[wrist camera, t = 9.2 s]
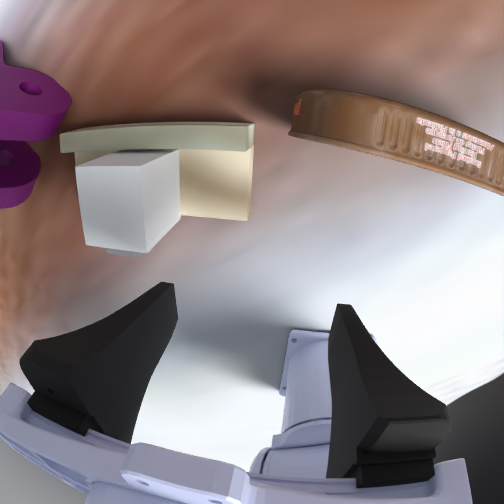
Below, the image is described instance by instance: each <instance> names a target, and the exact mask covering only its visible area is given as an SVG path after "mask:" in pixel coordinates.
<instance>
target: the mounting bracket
mask: <svg viewBox="0 0 504 504" xmlns="http://www.w3.org/2000/svg"><path fill="white" fill-rule="evenodd" d="M70 104H71V98H70V95H69V93H68V92H67V91H66V90H65V89H64V88H62V87H61V86H60V85H59V84H58V83H57V82H56V81H55V80H54V79H53V78H51V77H49V76H47V75H45V74H43V73H40V72H37V71H34V70H30V69H25V68H20V67H14V66H9V65H6V64H5V63H4V62H3V42H2V41H0V209H2V208H10V207H14V206H17V205H19V204H21V203H23V202H24V201H25V200H26V199H27V198H28V197H29V196H30V194H31V192H32V189H33V187H34V184H35V181H36V179H37V176H38V173H39V171H40V159H39V156H38V155H37V154H36V153H35V152H34V151H33V149H32V148H31V147H30V146H29V145H28V144H27V143H26V142H25V141H40V140H44V139H47V138H50V137H51V136H53V135H54V134H55V133H56V132H57V130H58V128H59V126H60V124H61V122H62V120H63V118H64V116H65V114H66V112H67V110H68V109H69V107H70Z"/></svg>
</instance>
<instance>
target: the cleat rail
mask: <svg viewBox="0 0 504 504" xmlns="http://www.w3.org/2000/svg"><path fill="white" fill-rule="evenodd" d="M254 130H255V123H235V122H155V123H135V124H120V125H108V126H97V127H88V128H82V129H77V130H73V131H69V132H65V133H61V134H59V135H60V149H61V153H69V152H75V163H76V166H78V165H81V164H84V163H86V162H89V161H91V160H94V159H97V158H99V157H102V156H105V155H108V154H111V153H113V152H116V151H119V150H127V149H179V175H180V212H181V215H187V216H198V217H209V218H220V219H230V220H241V221H247V220H248V218H249V215H250V210H251V190H252V170H253V150H254Z"/></svg>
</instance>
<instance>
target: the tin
mask: <svg viewBox="0 0 504 504" xmlns="http://www.w3.org/2000/svg"><path fill="white" fill-rule="evenodd" d="M288 135H289V136H293V137H297V138H301V139H306V140H309V141H315V142H319V143H324V144H330V145H334V146H338V147H342V148H347V149H351V150H356V151H359V152H364V153H367V154H372V155H376V156H380V157H384V158H388V159H392V160H396V161H399V162H403V163H407V164H410V165H414V166H417V167H420V168H424V169H427V170H430V171H434V172H437V173H440V174H443V175H447V176H450V177H453V178H456V179H459V180H462V181H465V182H468V183H470V184H473V185H476V186H479V187H481V188H484V189H487V190H490V191H492V192H495V193H497V194H499V195H502V196H504V143H503V142H501V141H499V140H497V139H495V138H492V137H490V136H488V135H486V134H484V133H482V132H480V131H477V130H475V129H473V128H470V127H468V126H466V125H463V124H461V123H458V122H456V121H453V120H450V119H448V118H445V117H442V116H440V115H437V114H434V113H431V112H428V111H425V110H422V109H419V108H416V107H412V106H409V105H405V104H402V103H398V102H395V101H391V100H388V99H384V98H380V97H375V96H371V95H366V94H360V93H355V92H348V91H340V90H328V89H315V90H308V91H305V92H303V93H301V94H300V95H298V96H297V98H296V100H295V106H294V113H293V121H292V127H291V130H290V131H289V133H288Z"/></svg>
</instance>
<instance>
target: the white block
mask: <svg viewBox="0 0 504 504" xmlns="http://www.w3.org/2000/svg"><path fill="white" fill-rule="evenodd" d="M75 171H76V181H77V189H78V197H79V205H80V212H81V218H82V224H83V230H84V236H85V241H86V245H89V246H96V247H104V248H106V252H107V253H108V254H115V255H122V256H129V257H136V258H139V257H140V256H141V255H142V254H143V253H148V252H149V251H150V250H151V249H152V248H153V247H154V246H155V245H156V244H157V243H158V241H159V240H160V239H161V238H162V237H163V236H164V235H165V234H166V233H167V232H168V231H169V230H170V229H171V228H172V227H173V226H174V225H175V224H176V223H177V222H178V221H179V220H180V219H181V212H180V175H179V149H127V150H119V151H116V152H113V153H111V154H108V155H105V156H102V157H99V158H97V159H94V160H91V161H89V162H86V163H84V164H81V165H78V166H76V167H75Z"/></svg>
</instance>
